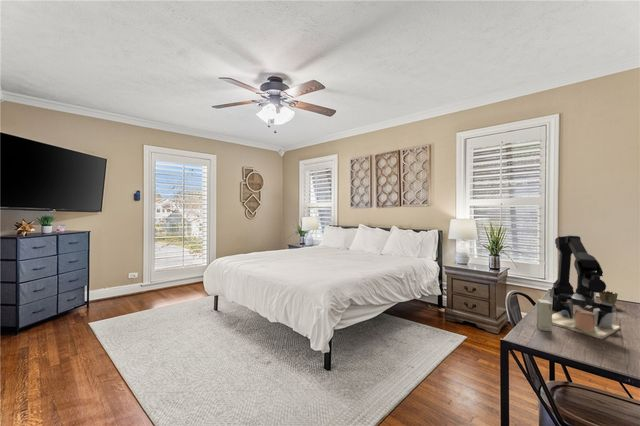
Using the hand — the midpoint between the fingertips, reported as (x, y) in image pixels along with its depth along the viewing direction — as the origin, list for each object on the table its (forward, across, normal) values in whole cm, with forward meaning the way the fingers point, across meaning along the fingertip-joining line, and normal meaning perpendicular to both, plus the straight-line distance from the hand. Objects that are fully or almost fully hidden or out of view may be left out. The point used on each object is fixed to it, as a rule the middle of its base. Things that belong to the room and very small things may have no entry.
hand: (584, 321), depth 129 cm
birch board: (+4, -4, +7) cm, 9 cm away
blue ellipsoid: (+2, -11, +11) cm, 16 cm away
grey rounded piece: (+3, +3, +11) cm, 12 cm away
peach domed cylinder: (+3, 0, 0) cm, 3 cm away
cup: (+4, -7, +55) cm, 56 cm away
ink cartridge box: (+4, -13, +45) cm, 47 cm away
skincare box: (+4, -10, -13) cm, 17 cm away
